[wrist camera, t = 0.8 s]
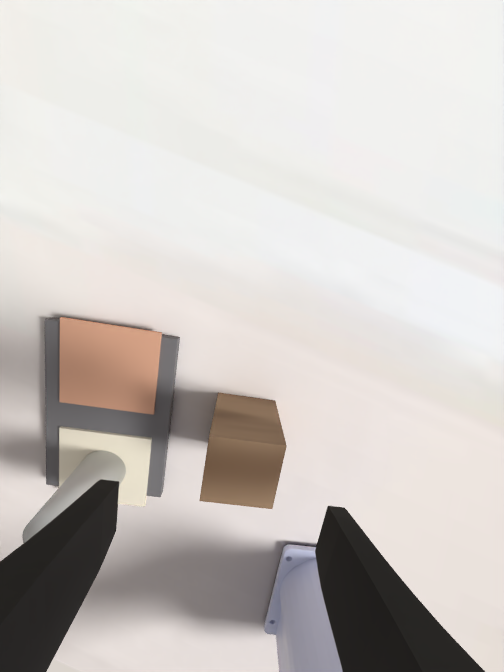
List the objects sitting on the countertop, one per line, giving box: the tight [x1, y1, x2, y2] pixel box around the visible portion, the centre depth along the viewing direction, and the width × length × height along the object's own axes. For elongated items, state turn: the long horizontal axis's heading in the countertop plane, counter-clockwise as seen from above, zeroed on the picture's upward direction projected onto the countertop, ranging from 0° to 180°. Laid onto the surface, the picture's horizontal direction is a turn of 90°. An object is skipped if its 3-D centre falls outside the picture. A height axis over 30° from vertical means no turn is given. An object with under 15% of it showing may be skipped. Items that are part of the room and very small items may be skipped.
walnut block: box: [200, 393, 286, 509], centre depth 16 cm, size 4×4×5 cm
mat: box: [45, 317, 180, 507], centre depth 18 cm, size 13×8×1 cm, turn 170°
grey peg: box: [23, 450, 126, 543], centre depth 16 cm, size 3×3×5 cm
